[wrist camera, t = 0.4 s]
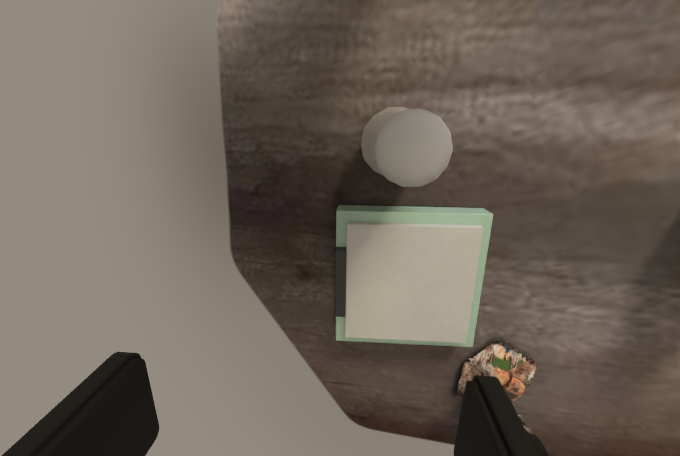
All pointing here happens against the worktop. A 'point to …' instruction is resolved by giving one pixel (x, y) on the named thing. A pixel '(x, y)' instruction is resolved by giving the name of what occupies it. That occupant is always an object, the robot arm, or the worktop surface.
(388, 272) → the scale
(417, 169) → the salt shaker
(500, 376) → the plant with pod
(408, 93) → the worktop surface
